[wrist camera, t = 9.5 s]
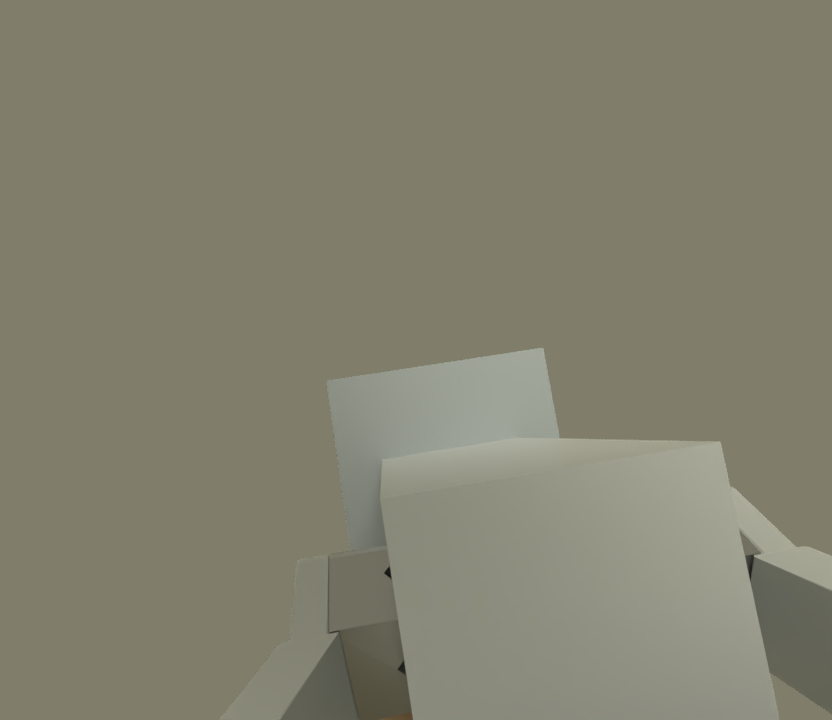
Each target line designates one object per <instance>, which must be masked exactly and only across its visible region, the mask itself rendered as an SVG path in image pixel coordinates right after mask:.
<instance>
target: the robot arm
mask: <svg viewBox="0 0 832 720" xmlns="http://www.w3.org/2000/svg"><path fill="white" fill-rule="evenodd" d="M730 489H731V494H732V498H733V503H734V508H735V512H736V517H737V522H738V526H739V531H740V536H741V541H742V545H743V550H744V555H745V559H746V564H747V569H748V573H749V578H750V583H751V587H752V592H753V597H754V602H755V606H756V611H757V616H758V620H759V625H760V630H761V634H762V639H763V644H764V648H765V653H766V658H767V663H768V667H769V672H770V673H771V674H773V675H774V676H776V677H777V678H779V679H780V680H782V681H783V682H785V683H786V684H788V685H789V686H791V687H792V688H794V689H795V690H797V691H798V692H799V693H801V694H803V695H804V696H806V697H807V698H808V699H810V700H811V701H813V702H815V703H816V704H817V705H819V706H820V707H822V708H823V709H825V710H826V711H828V712H829V713H831V714H832V556H830V555H828V554H825V553H823V552H820V551H818V550H815V549H812V548H810V547H807V546H804V547H798V548H797V547H796V546H795V545H794V544H793V543H792V542H790V541H789V540H788V539H787V538H786V537H785V536H784V535H783V534H782V533H781V532H780V531H779V530H778V529H777V528H776V527H774V525H773V524H772V523H770V522H769V521H768V520H767V519H766V518H765V517H764V516H763V515H762V514H761V513H760V512H759V511H758V510H757V509H756V508H755V507H754V506H753V505H752V504H750V503H749V502H748V501H747V500H746V499H745V498H744V497H743V496H742V495H741V494H740V493H739V492H738V491H737V490H736V489H735V488H733V487H731V486H730ZM411 712H412V709H411V702H410V696H409V689H408V682H407V676H406V669H405V663H404V656H403V649H402V643H401V636H400V629H399V623H398V616H397V609H396V603H395V596H394V589H393V583H392V576H391V569H390V563H389V556H388V549H387V545H385V546H379V547H372V548H365V549H359V550H352V551H346V552H339V553H333V554H330V555H322V556H317V557H309V558H303V559H298V561H297V564H296V566H295V576H294V588H293V600H292V613H291V627H290V640H289V641H287V642H282V643H279V644H278V645H277V647H276V648H275V649H274V651H273V652H272V653H271V654H270V656H269V657H268V658H267V659H266V661H265V662H264V663H263V664H262V666H261V667H260V668H259V670H258V671H257V672H256V673H255V675H254V676H253V677H252V678H251V680H250V681H249V682H248V683H247V685H246V686H245V687H244V688H243V690H242V691H241V692H240V694H239V695H238V696H237V697H236V699H235V700H234V701H233V702H232V704H231V705H230V706H229V707H228V709H227V710H226V711H225V712H224V714H223V715H222V716H221V717H220V719H219V720H380V719H384V718H388V717H393V716H397V715H402V714H406V713H411Z"/></svg>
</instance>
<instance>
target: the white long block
mask: <svg viewBox="0 0 832 720" xmlns="http://www.w3.org/2000/svg"><path fill="white" fill-rule="evenodd" d="M327 388H328V395H329V402H330V409H331V416H332V423H333V430H334V437H335V444H336V451H337V458H338V465H339V472H340V478H341V485H342V492H343V499H344V506H345V513H346V520H347V527H348V533H349V541H350V548H351V551H352V550H359V549H365V548H372V547H379V546H385V545H387V549H388V556H389V563H390V569H391V576H392V583H393V589H394V596H395V603H396V609H397V616H398V623H399V629H400V636H401V643H402V649H403V656H404V663H405V669H406V676H407V682H408V689H409V696H410V702H411V709H412V716H413V720H780V719H779V714H778V710H777V705H776V700H775V695H774V691H773V686H772V681H771V677H770V672H769V667H768V663H767V658H766V653H765V648H764V644H763V639H762V634H761V630H760V625H759V620H758V616H757V611H756V606H755V602H754V597H753V592H752V587H751V583H750V578H749V573H748V569H747V564H746V559H745V555H744V550H743V545H742V541H741V536H740V531H739V526H738V522H737V517H736V512H735V508H734V503H733V498H732V494H731V489H730V484H729V480H728V475H727V470H726V466H725V461H724V456H723V451H722V447H721V442H706V441H702V442H701V441H657V440H655V441H654V440H607V439H605V440H604V439H560V437H559V432H558V427H557V421H556V416H555V410H554V405H553V399H552V394H551V388H550V383H549V378H548V372H547V367H546V361H545V356H544V351H543V348H538V349H532V350H525V351H519V352H512V353H506V354H499V355H493V356H486V357H480V358H473V359H467V360H460V361H454V362H447V363H441V364H434V365H427V366H421V367H415V368H408V369H401V370H395V371H389V372H382V373H375V374H369V375H362V376H356V377H349V378H343V379H337V380H330V381H327Z"/></svg>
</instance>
